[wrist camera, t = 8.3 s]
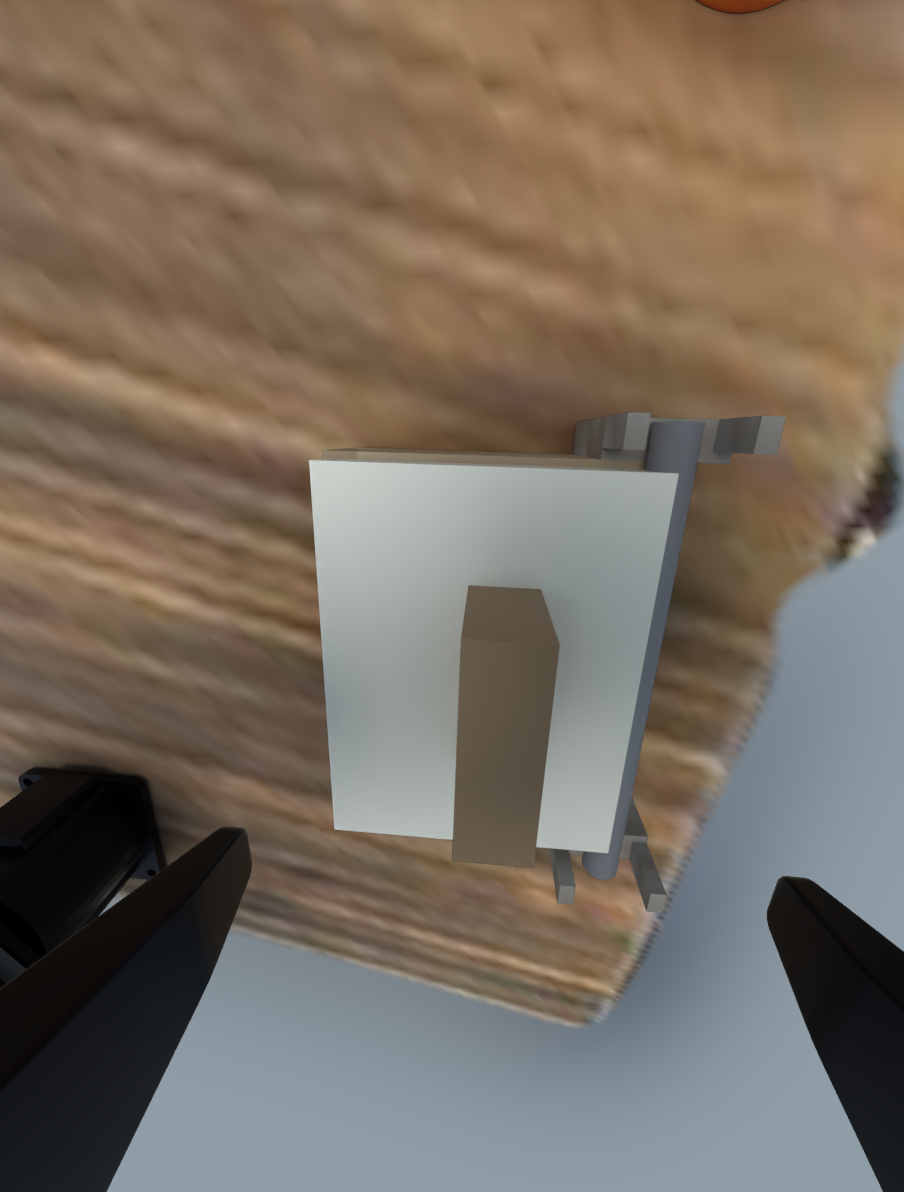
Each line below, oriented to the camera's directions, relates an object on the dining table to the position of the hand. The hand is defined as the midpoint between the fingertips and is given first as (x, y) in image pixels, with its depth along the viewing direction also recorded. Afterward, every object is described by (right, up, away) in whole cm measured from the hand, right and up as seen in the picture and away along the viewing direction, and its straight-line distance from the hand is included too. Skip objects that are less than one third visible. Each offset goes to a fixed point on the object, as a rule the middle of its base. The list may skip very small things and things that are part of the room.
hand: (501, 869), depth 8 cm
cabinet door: (0, +2, +7) cm, 7 cm away
